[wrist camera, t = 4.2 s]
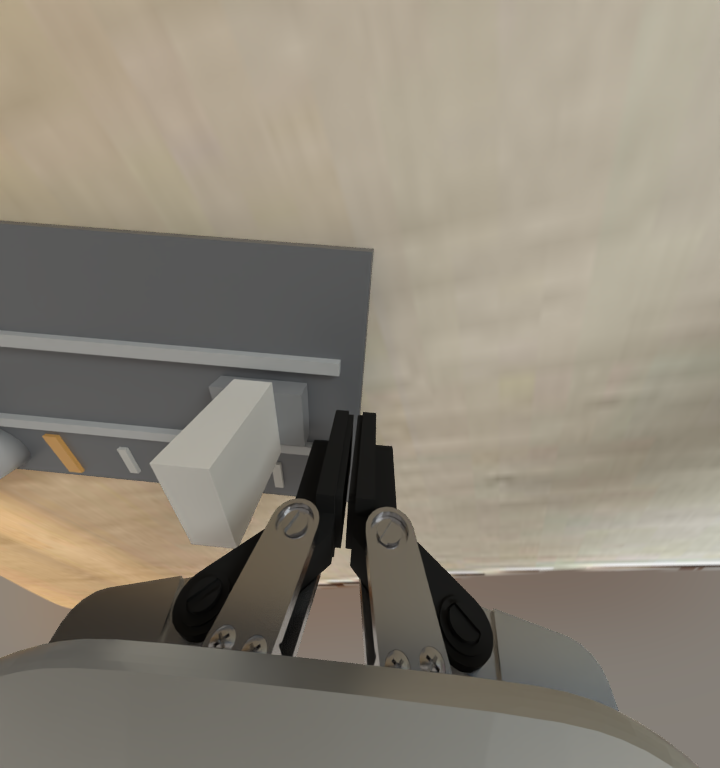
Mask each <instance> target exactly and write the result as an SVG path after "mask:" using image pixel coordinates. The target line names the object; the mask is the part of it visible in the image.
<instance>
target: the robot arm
mask: <svg viewBox="0 0 720 768" xmlns="http://www.w3.org/2000/svg"><path fill="white" fill-rule="evenodd" d="M353 421H354V415H351V414H349V411H345V410H336V412H335V417H334V421H333V425H332V429H331V433H330V437H329V441H327V440H314V442H313V444H312V447H311V451H310V454H309V457H308V460H307V463H306V466H305V470H304V473H303V476H302V479H301V482H300V486H299V489H298V492H297V495H296V498H295V499H292V500H289V501H287V502H285V503H283V504H282V505H280V506H279V507H278V508H277V509H276V511H275V512H274V513H273V515H272V517H271V519H270V520H269V522H268V524H267V526H266V528H265V529H264V530H262V531H261V532H259V533H258V534H256V535H255V536H253V537H252V538H250V539H249V540H247V541H246V542H244V543H243V544H241V545H240V546H238V547H236V548H235V549H233V550H232V551H230V552H229V553H227V554H226V555H224V556H223V557H221V558H220V559H218V560H217V561H215V562H214V563H212V564H211V565H209V566H208V567H206V568H205V569H203V570H202V571H200V572H199V573H197V574H196V575H195V576H194V577H190V578H184V579H183V578H182V576H178V577H171V578H165V579H159V580H153V581H147V582H141V583H135V584H129V585H122V586H116V587H110V588H106V589H103V590H100V591H97V592H95V593H93V594H91V595H90V596H88V597H86V598H85V599H83V600H82V601H81V602H80V603H79V604H77V605H76V606H75V607H74V608H73V609H72V610H71V611H70V612H69V613H68V615H67V616H66V617H65V619H64V620H63V621H62V622H61V624H60V626H59V627H58V629H57V630H56V632H55V634H54V635H53V637H52V638H51V640H50V642H49V643H48V644H42V645H39V646H35V647H32V648H28V649H24V650H21V651H17V652H15V653H12V654H10V655H7V656H4V657H2V658H0V768H700V767H699V766H698V765H697V764H696V763H694V762H693V761H692V760H691V759H690V758H689V757H687V756H686V755H685V754H684V753H682V752H681V751H680V750H678V749H677V748H676V747H674V746H673V745H672V744H670V743H669V742H668V741H666V740H665V739H664V738H662V737H661V736H659V735H658V734H656V733H655V732H653V731H652V730H650V729H648V728H647V727H645V726H644V725H642V724H640V723H639V722H638V721H636V720H634V719H632V718H630V717H628V716H626V715H624V714H622V713H621V712H619V710H618V707H617V705H616V702H615V699H614V696H613V693H612V690H611V688H610V685H609V682H608V680H607V679H606V676H605V674H604V672H603V670H602V668H601V666H600V665H599V664H598V663H597V661H596V660H595V658H594V657H593V656H592V654H591V653H590V652H589V651H587V650H586V649H585V648H584V647H583V646H582V645H581V644H580V643H578V642H577V641H575V640H573V639H572V638H570V637H568V636H565V635H563V634H560V633H557V632H554V631H552V630H549V629H546V628H544V627H542V626H539V625H536V624H534V623H531V622H528V621H526V620H523V619H521V618H518V617H515V616H513V615H510V614H507V613H505V612H502V611H499V610H497V609H493V610H492V611H491V610H488V609H486V608H483V607H480V605H479V604H478V603H477V602H476V601H475V599H474V598H472V596H470V594H469V593H468V592H467V591H466V590H465V589H464V588H463V587H462V586H461V585H460V584H459V583H457V581H456V580H455V579H454V578H453V577H452V576H451V575H450V574H449V573H448V572H447V571H446V570H445V569H444V568H443V567H442V566H441V565H440V564H439V563H438V562H437V561H436V560H435V559H434V558H433V557H432V556H431V555H430V554H429V553H428V552H427V551H426V550H425V549H424V548H423V547H422V546H421V545H420V544H419V543H418V542H417V540H416V536H415V532H414V528H413V526H412V524H411V521H410V520H409V519H408V517H407V516H406V515H405V514H404V513H403V512H401V511H400V510H398V509H397V508H396V492H395V477H394V462H393V449H392V446H382V445H376V413H368V412H363V415H358V418H357V427H356V436H355V444H354V453H353V462H352V471H351V479H350V488H349V499H348V515H347V532H346V548H347V549H352V550H351V562H350V566H351V568H352V569H353V570H354V572H355V573H356V574H357V576H358V577H359V586H360V599H361V614H362V628H363V642H364V656H365V665H363V664H354V663H345V662H336V661H327V660H318V659H309V658H300V657H296V655H297V651H298V649H299V645H300V642H301V639H302V635H303V632H304V629H305V625H306V622H307V619H308V615H309V612H310V608H311V605H312V602H313V598H314V596H315V592H316V589H317V586H318V582H319V579H320V575H321V572H322V571H324V570H325V569H326V568H327V567H328V566H329V565H330V564H331V561H332V557H334V551H335V547H337V548H341V542H342V534H343V525H344V517H345V509H346V500H347V492H348V484H349V475H350V467H351V454H352V438H353Z"/></svg>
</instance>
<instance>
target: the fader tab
mask: <svg viewBox="0 0 720 768" xmlns="http://www.w3.org/2000/svg"><path fill="white" fill-rule="evenodd" d="M209 390H210V393H211V397H212V401H211V402H210V403H209V404H208V405H207V406H206V407H205V408H204V409H203V410H202V411H201V412H200V413H199V414H198V415H197V416H196V417H195V418H194V419H193V420H192V421H191V422H190V423H189V424H188V425H187V426H186V427H185V428H184V429H183V430H182V431H181V432H180V433H179V434H178V435H177V436H176V437H175V438H174V439H173V440H172V441H171V442H170V443H169V444H168V445H167V446H166V447H165V448H164V449H163V450H162V451H161V452H160V453H159V454H158V455H157V456H156V457H155V458H154V459H153V460H152V461H151V462H150V463H149V464H150V466H151V468H152V469H153V471H154V473H155V475H156V477H157V479H158V481H159V483H160V485H161V487H162V489H163V490H164V492H165V494H166V496H167V498H168V500H169V502H170V504H171V506H172V508H173V509H174V511H175V513H176V515H177V517H178V519H179V521H180V523H181V525H182V527H183V529H184V530H185V532H186V534H187V536H188V538H189V540H190V542H191V544H195V545H204V546H214V547H223V548H233V549H235V548H236V547H238V546H239V545H240V542H241V540H242V538H243V536H244V533H245V531H246V529H247V527H248V525H249V522H250V520H251V518H252V516H253V513H254V511H255V509H256V507H257V505H258V502H259V500H260V498H261V496H262V493H263V491H264V489H265V487H266V485H267V482H268V480H269V478H270V476H271V473H272V471H273V469H274V467H275V465H276V462H277V460H278V458H279V456H280V453H281V446H280V444H282V445H292V446H303V447H305V445H306V442H307V439H308V436H309V433H310V429H309V410H308V390H307V383H300V382H289V381H278V380H267V379H256V378H244V377H233V376H222V375H221V376H220V377H219V378H218V379H217V380H215V381H214V382H213V383H212V384H211V385H210V386H209Z"/></svg>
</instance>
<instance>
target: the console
mask: <svg viewBox="0 0 720 768" xmlns="http://www.w3.org/2000/svg"><path fill="white" fill-rule="evenodd" d="M372 262H373V249H366V248H353V247H340V246H327V245H314V244H301V243H288V242H275V241H261V240H248V239H235V238H222V237H209V236H196V235H183V234H170V233H156V232H143V231H130V230H117V229H104V228H91V227H78V226H64V225H51V224H38V223H25V222H12V221H0V479H1V478H3V477H4V476H6V475H7V474H9V473H10V472H12V471H14V470H15V469H26V470H36V471H46V472H56V473H66V474H76V475H86V476H96V477H106V478H116V479H127V480H137V481H147V482H157V483H159V481H158V479H157V477H156V475H155V473H154V471H153V469H152V468H151V466H150V464H149V463H150V462H151V461H152V460H153V459H154V458H155V457H156V456H157V455H158V454H159V453H160V452H161V451H162V450H163V449H164V448H165V447H166V446H167V445H168V444H169V443H170V442H171V441H172V440H173V439H174V438H175V437H176V436H177V435H178V434H179V433H180V432H181V431H182V430H183V429H184V428H185V427H186V426H187V425H188V424H189V423H190V422H191V421H192V420H193V419H194V418H195V417H196V416H197V415H198V414H199V413H200V412H201V411H202V410H203V409H204V408H205V407H206V406H207V405H208V404H209V403H210V402H211V401H212V397H211V393H210V390H209V386H210V385H211V384H212V383H213V382H214V381H215V380H217V379H218V378H219V377H220V376H221V375H222V376H233V377H244V378H256V379H267V380H278V381H289V382H300V383H307V390H308V410H309V429H310V433H309V436H308V439H307V442H306V445H305V447H303V446H292V445H282V444H280V446H281V453H280V456H279V458H278V460H277V462H276V465H275V467H274V469H273V471H272V473H271V476H270V478H269V480H268V482H267V485H266V487H265V489H264V491H263V493H267V494H277V495H287V496H296V495H297V492H298V489H299V486H300V482H301V479H302V476H303V473H304V470H305V466H306V463H307V460H308V457H309V454H310V451H311V447H312V444H313V442H314V440H327V441H329V437H330V433H331V429H332V425H333V421H334V417H335V412H336V410H345V411H349V414H351V415H354V421H353V438H352V454H351V467H350V475H349V484H348V492H347V500H346V501H347V502H348V499H349V488H350V479H351V471H352V462H353V453H354V444H355V436H356V427H357V418H358V415H360V410H361V397H362V385H363V373H364V360H365V348H366V336H367V323H368V311H369V299H370V286H371V274H372Z"/></svg>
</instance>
